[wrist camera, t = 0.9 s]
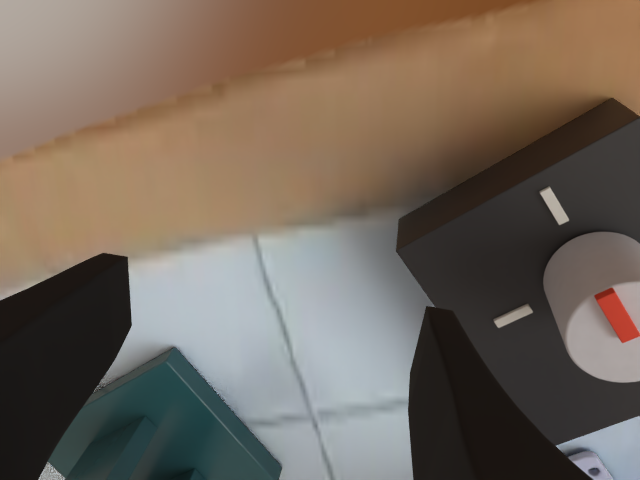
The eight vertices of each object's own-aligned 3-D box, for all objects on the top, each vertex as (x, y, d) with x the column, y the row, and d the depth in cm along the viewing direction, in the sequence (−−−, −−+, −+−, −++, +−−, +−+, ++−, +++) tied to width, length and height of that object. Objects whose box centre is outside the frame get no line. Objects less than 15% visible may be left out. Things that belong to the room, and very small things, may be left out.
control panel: (742, 318, 23) (785, 367, 21) (526, 404, 27) (538, 455, 24) (623, 90, 20) (655, 110, 18) (398, 219, 24) (395, 252, 21)
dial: (670, 292, 20) (721, 360, 17) (571, 335, 22) (599, 406, 18) (624, 212, 19) (670, 266, 16) (524, 261, 21) (545, 321, 17)
